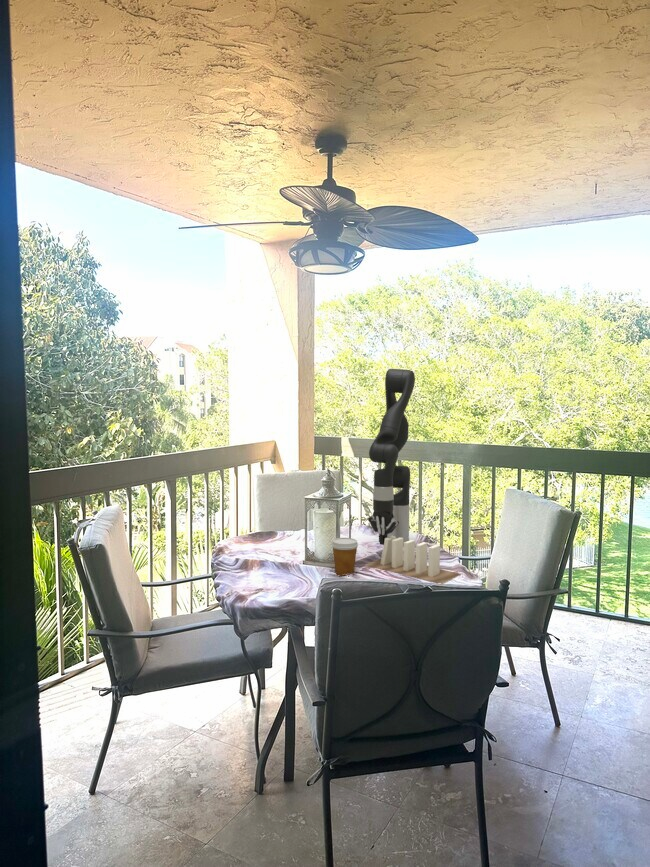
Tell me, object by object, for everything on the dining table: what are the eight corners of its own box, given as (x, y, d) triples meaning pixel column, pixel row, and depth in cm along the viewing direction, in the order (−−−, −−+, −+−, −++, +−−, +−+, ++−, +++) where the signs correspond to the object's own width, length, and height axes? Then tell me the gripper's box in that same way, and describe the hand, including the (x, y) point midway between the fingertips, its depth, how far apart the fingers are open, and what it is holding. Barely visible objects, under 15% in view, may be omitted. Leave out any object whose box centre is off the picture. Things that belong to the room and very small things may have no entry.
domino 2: (391, 567, 206) (391, 540, 205) (399, 564, 210) (399, 537, 209) (395, 568, 205) (395, 540, 204) (402, 564, 209) (403, 538, 208)
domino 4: (415, 573, 199) (415, 545, 199) (422, 569, 203) (423, 542, 202) (419, 573, 198) (419, 545, 198) (426, 570, 202) (427, 542, 201)
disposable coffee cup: (362, 571, 204) (362, 538, 203) (352, 579, 195) (352, 545, 194) (337, 568, 208) (337, 536, 207) (326, 576, 199) (326, 542, 198)
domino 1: (380, 563, 209) (384, 538, 207) (388, 560, 213) (392, 535, 211) (383, 565, 208) (388, 539, 206) (391, 562, 212) (396, 537, 210)
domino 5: (428, 575, 196) (428, 547, 195) (435, 572, 200) (435, 544, 199) (432, 576, 195) (432, 548, 194) (439, 573, 199) (440, 545, 198)
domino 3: (403, 570, 203) (403, 542, 202) (410, 566, 206) (411, 539, 206) (407, 571, 202) (407, 543, 201) (414, 567, 205) (415, 540, 205)
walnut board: (363, 567, 208) (363, 565, 208) (385, 559, 219) (385, 556, 219) (441, 587, 188) (441, 584, 188) (461, 576, 198) (461, 573, 198)
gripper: (404, 498, 208) (403, 545, 209) (374, 494, 216) (374, 539, 218) (392, 501, 202) (392, 549, 203) (362, 497, 211) (362, 543, 212)
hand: (383, 544), depth 211 cm, fingers closed
